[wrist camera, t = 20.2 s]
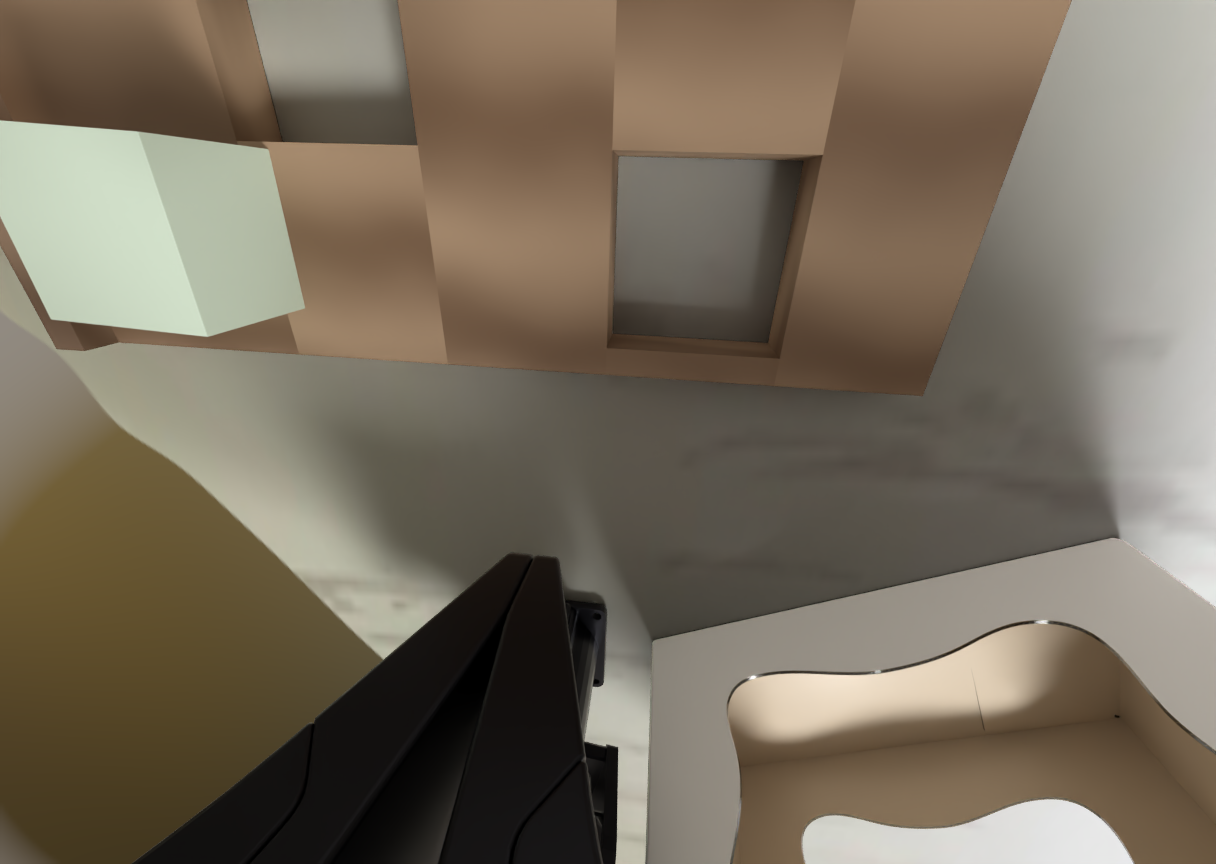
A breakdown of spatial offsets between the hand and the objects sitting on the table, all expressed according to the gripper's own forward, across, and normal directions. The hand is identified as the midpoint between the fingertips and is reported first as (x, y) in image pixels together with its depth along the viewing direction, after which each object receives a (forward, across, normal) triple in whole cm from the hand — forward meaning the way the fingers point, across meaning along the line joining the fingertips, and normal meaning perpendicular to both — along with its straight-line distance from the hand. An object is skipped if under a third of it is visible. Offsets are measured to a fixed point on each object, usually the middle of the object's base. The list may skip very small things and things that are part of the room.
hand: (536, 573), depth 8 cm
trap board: (+12, +5, -7) cm, 15 cm away
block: (+10, +14, -4) cm, 17 cm away
